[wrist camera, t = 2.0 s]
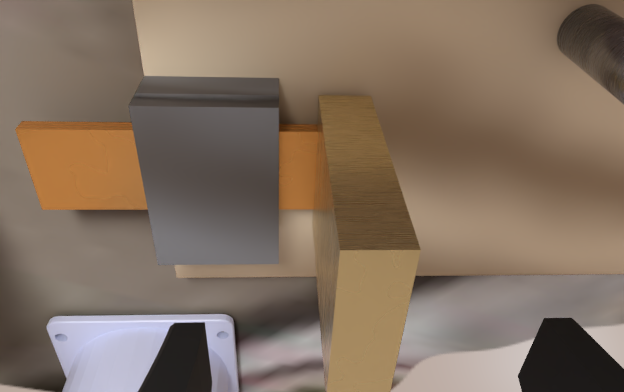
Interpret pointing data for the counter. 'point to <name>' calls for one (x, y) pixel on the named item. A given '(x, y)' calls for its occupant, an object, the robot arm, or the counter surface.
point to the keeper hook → (596, 45)
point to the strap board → (395, 126)
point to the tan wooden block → (292, 195)
